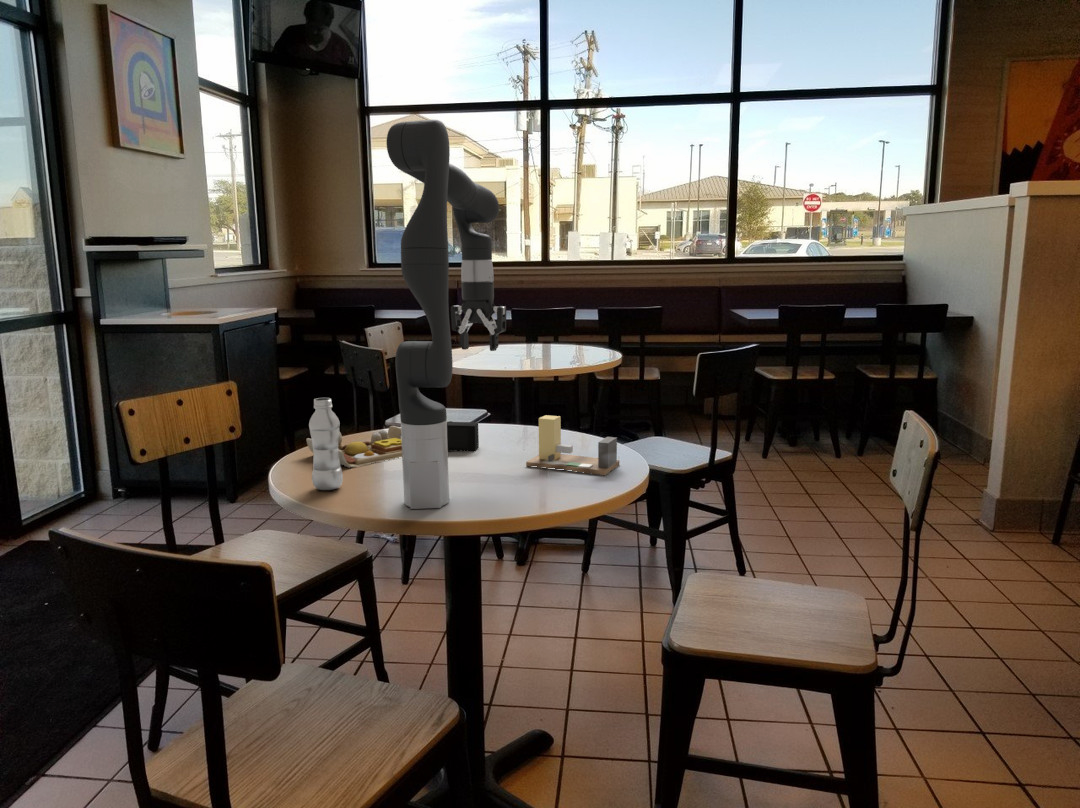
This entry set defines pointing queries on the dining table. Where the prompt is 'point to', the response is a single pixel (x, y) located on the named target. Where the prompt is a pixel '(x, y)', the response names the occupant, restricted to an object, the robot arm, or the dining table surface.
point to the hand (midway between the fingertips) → (479, 349)
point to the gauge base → (585, 460)
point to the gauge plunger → (551, 438)
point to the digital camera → (462, 436)
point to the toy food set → (369, 448)
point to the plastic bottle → (325, 446)
